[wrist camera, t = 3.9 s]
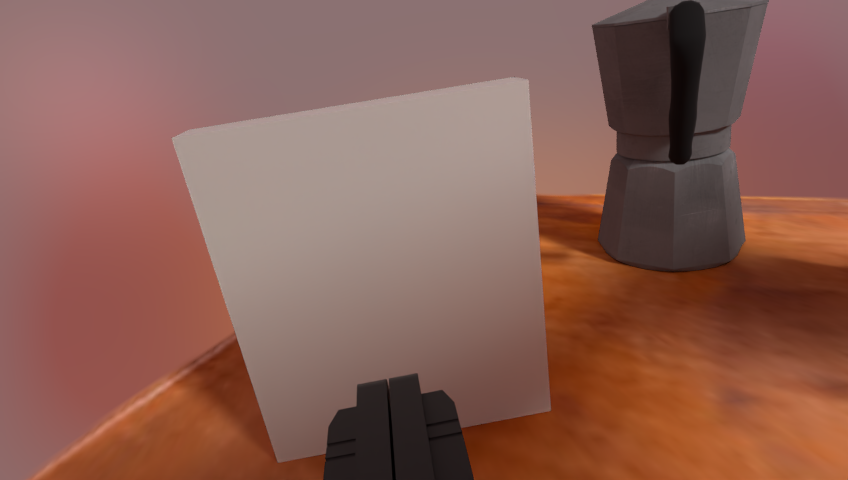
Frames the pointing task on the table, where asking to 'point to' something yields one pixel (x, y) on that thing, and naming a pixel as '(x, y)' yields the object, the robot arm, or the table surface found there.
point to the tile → (378, 253)
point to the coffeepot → (675, 129)
